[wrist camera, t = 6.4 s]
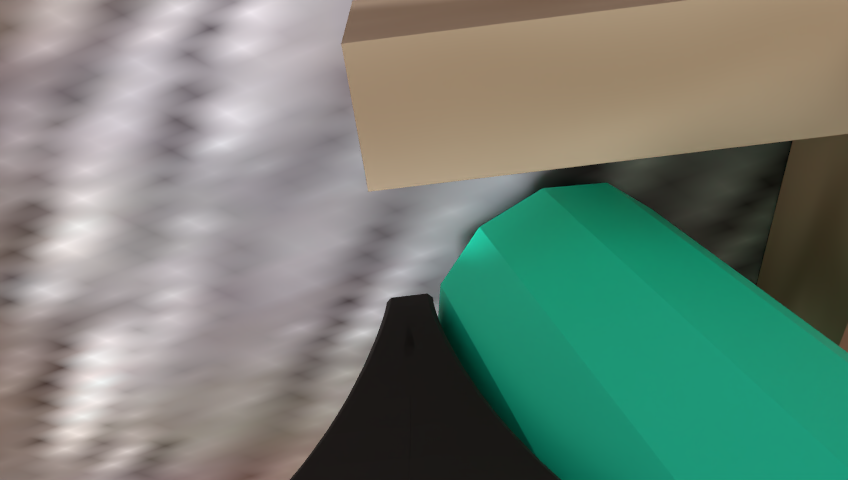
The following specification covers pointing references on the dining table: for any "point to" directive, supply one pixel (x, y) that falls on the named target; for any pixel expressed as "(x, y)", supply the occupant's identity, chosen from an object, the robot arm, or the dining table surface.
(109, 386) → the dining table surface
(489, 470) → the robot arm
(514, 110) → the stand
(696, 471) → the candle
